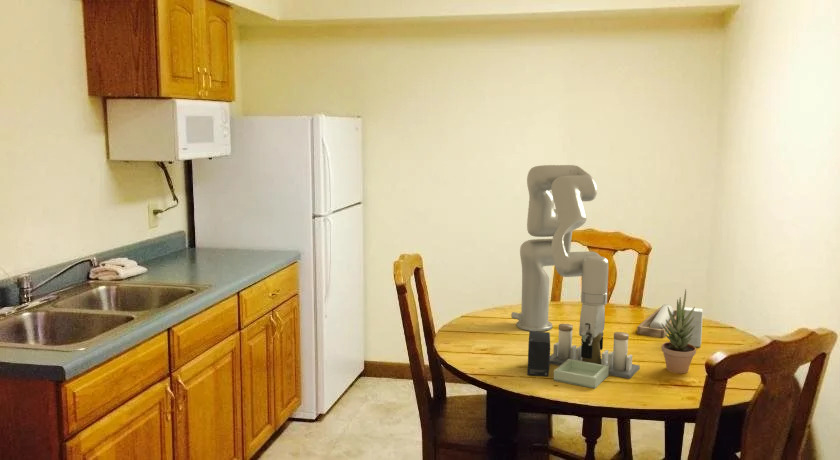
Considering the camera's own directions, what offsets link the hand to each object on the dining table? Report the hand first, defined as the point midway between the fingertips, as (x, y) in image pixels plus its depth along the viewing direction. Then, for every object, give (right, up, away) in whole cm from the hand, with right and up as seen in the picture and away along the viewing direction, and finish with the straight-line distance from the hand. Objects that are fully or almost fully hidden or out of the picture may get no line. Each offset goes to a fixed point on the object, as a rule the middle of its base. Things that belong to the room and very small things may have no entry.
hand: (592, 353), depth 219 cm
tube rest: (+35, +3, +44) cm, 57 cm away
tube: (+36, +2, +44) cm, 57 cm away
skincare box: (+38, -1, +22) cm, 44 cm away
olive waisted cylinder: (0, -4, +1) cm, 4 cm away
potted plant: (+25, -5, -3) cm, 25 cm away
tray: (-5, -5, -10) cm, 13 cm away
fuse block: (0, -4, +1) cm, 4 cm away
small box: (-17, -5, -3) cm, 18 cm away
